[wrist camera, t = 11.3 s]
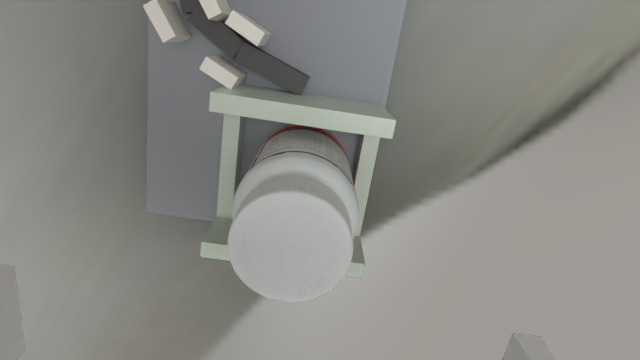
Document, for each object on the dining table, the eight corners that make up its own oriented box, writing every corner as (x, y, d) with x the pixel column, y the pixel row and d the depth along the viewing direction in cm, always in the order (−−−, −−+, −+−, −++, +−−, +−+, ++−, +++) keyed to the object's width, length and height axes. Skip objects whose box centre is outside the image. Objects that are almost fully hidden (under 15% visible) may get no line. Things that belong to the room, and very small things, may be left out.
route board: (157, -92, 23) (122, -120, 19) (413, -48, 23) (431, -65, 20) (153, 205, 29) (126, 232, 25) (356, 234, 30) (361, 264, 26)
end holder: (231, 82, 25) (210, 91, 20) (382, 105, 25) (396, 120, 21) (220, 220, 28) (200, 256, 23) (355, 239, 28) (362, 278, 24)
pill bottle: (308, 225, 28) (299, 339, 17) (238, 171, 27) (182, 258, 16) (368, 162, 27) (399, 245, 16) (297, 101, 25) (278, 146, 15)
